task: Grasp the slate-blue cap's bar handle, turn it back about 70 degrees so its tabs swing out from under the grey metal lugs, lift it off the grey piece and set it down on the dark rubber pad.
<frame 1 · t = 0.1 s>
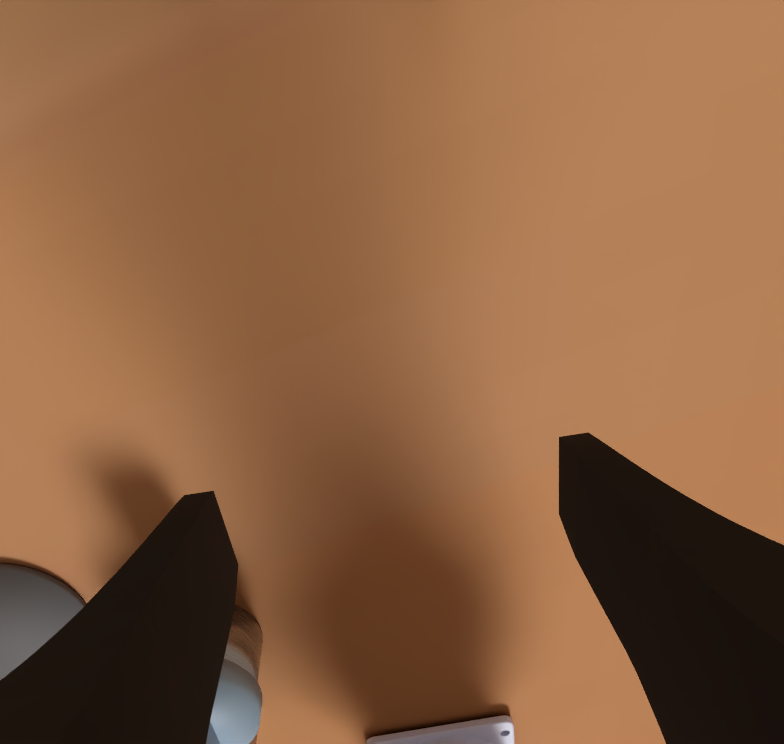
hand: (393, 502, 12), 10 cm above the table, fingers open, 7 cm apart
grey piece: (208, 639, 28), on the table
pad: (10, 622, 26), on the table
cap: (195, 699, 25), point 3 cm above the table, touching grey piece
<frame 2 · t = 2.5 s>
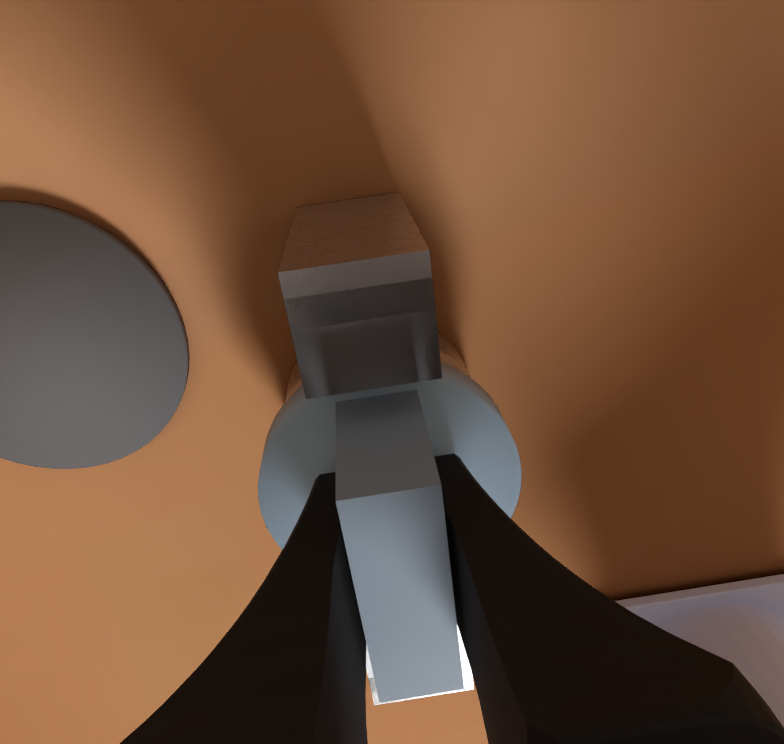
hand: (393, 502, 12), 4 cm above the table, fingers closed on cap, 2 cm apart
grey piece: (379, 400, 16), on the table
pad: (43, 345, 15), on the table
cap: (388, 465, 14), point 3 cm above the table, touching gripper, grey piece
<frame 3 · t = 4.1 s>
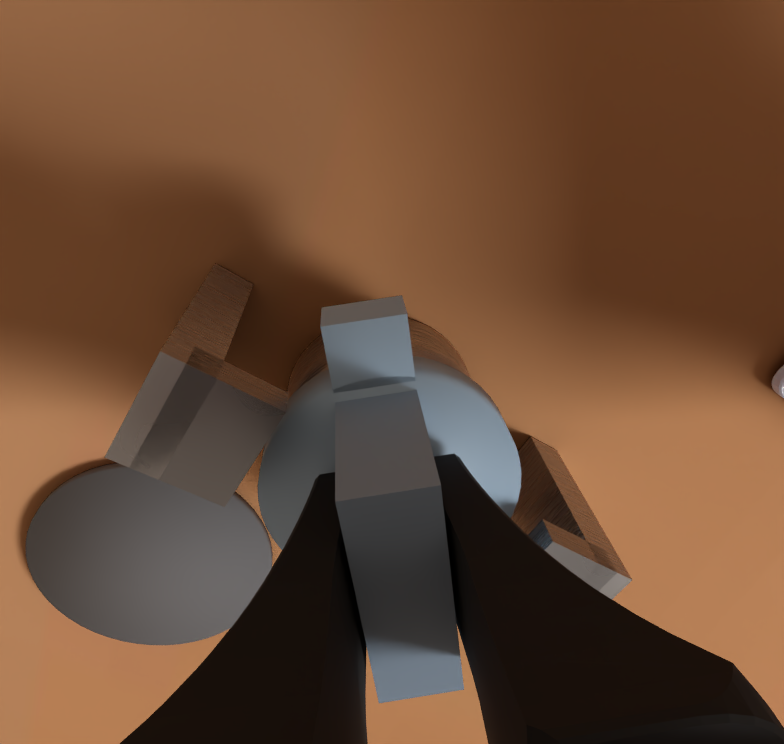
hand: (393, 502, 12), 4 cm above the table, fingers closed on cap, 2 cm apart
grey piece: (379, 400, 16), on the table
pad: (154, 556, 18), on the table
cap: (388, 465, 14), point 3 cm above the table, touching gripper, grey piece
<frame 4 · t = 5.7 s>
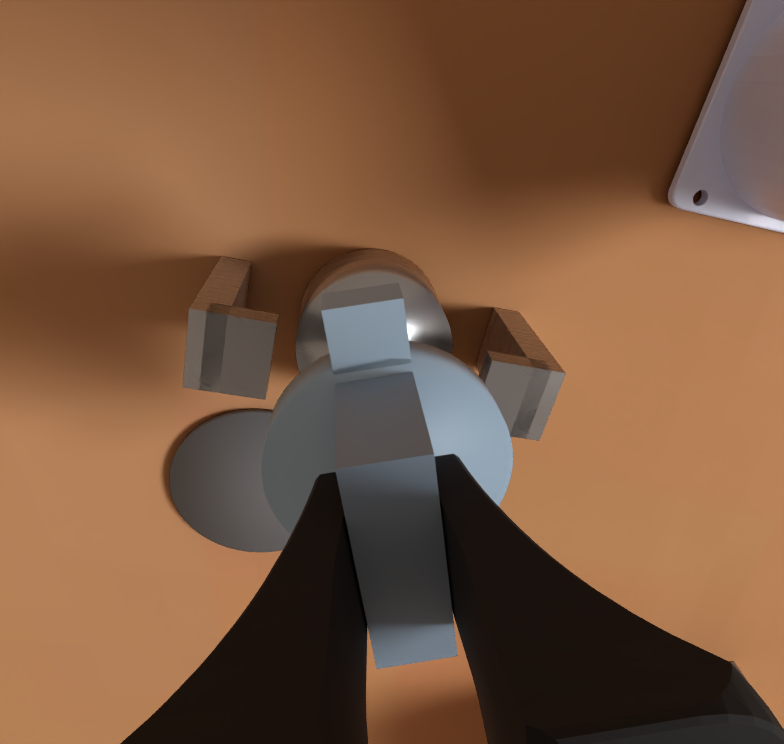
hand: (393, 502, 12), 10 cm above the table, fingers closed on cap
grey piece: (370, 316, 22), on the table
pad: (259, 482, 24), on the table
cap: (385, 447, 14), point 8 cm above the table, touching gripper
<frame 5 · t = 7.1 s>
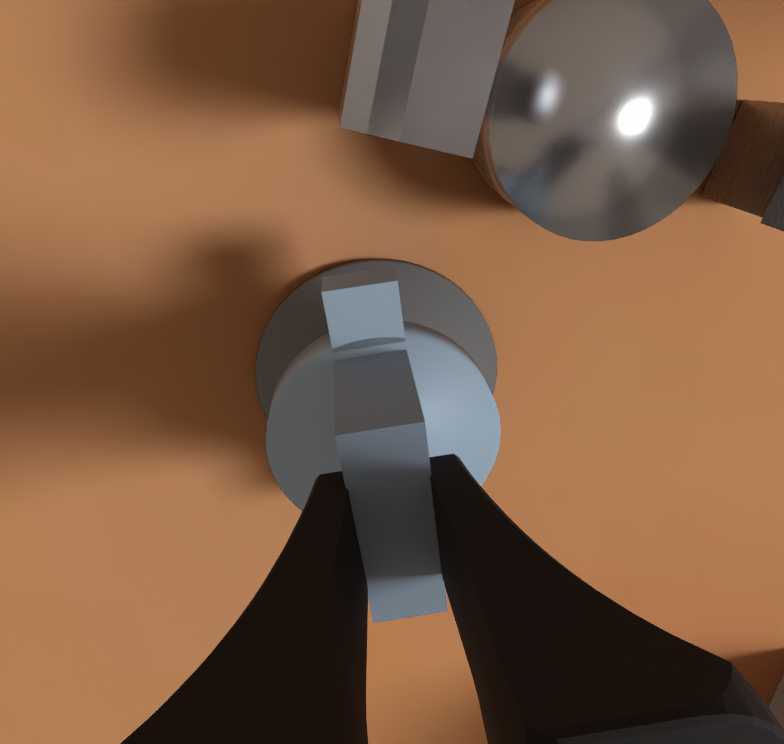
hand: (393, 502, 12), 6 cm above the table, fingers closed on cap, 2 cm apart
grey piece: (564, 109, 15), on the table
pad: (377, 374, 18), on the table
cap: (382, 422, 15), point 3 cm above the table, touching gripper
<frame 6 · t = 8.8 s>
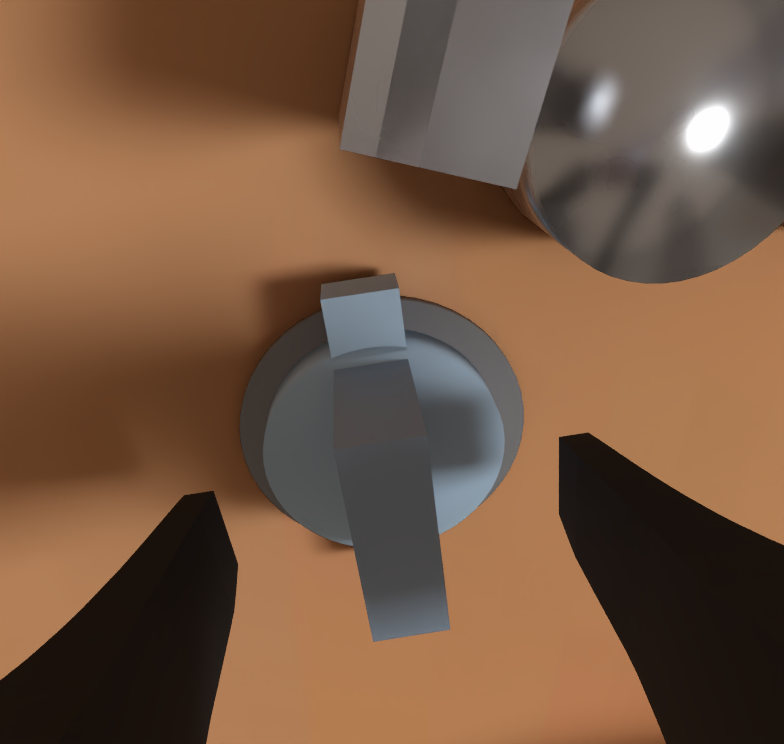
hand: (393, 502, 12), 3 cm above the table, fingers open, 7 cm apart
grey piece: (610, 118, 12), on the table
pad: (383, 427, 15), on the table
cap: (382, 432, 15), resting on pad
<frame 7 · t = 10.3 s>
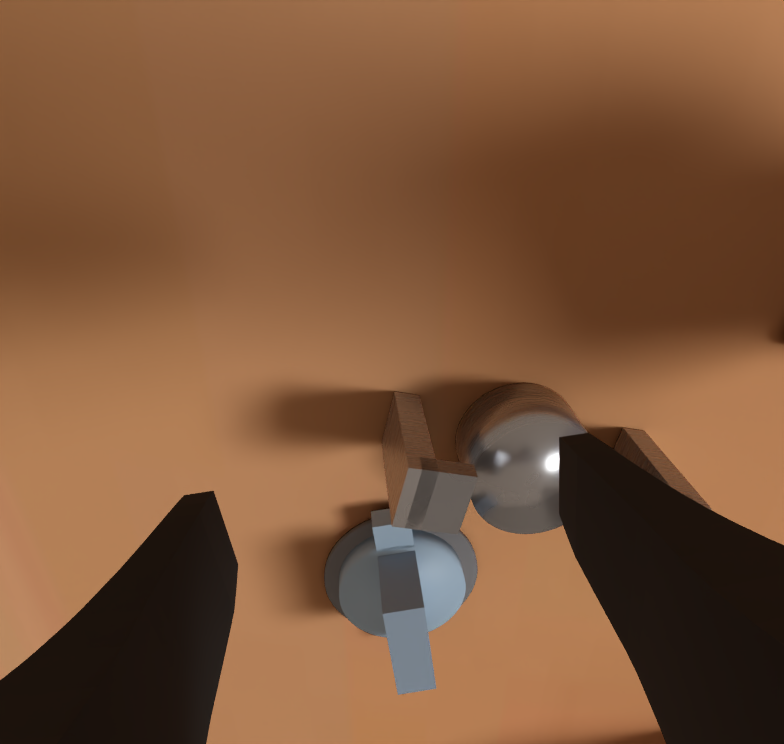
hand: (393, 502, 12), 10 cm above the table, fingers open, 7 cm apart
grey piece: (515, 436, 25), on the table
pad: (401, 572, 27), on the table
cap: (400, 576, 27), resting on pad
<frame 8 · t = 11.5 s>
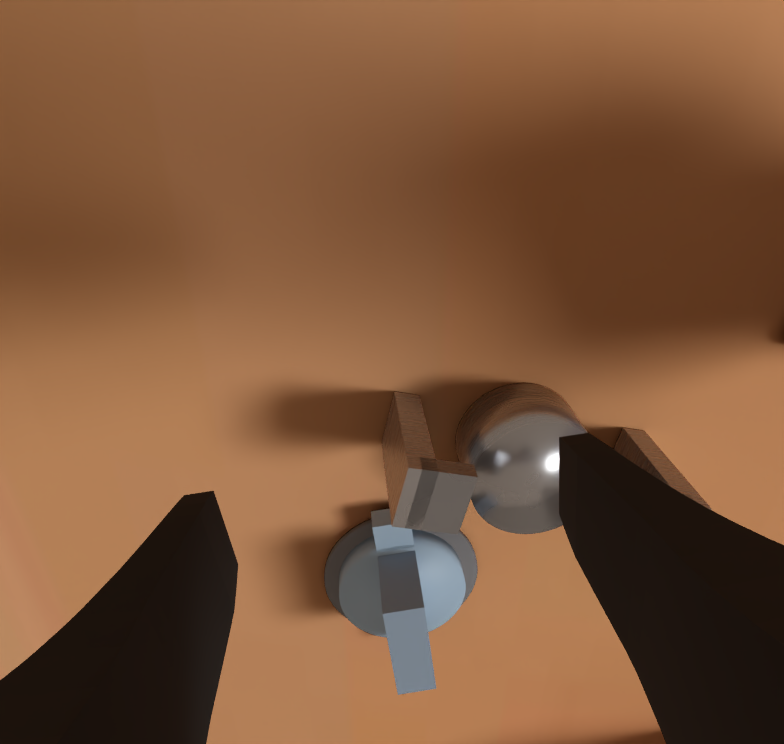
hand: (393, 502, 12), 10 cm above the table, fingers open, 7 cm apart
grey piece: (515, 436, 25), on the table
pad: (401, 572, 27), on the table
cap: (400, 576, 27), resting on pad
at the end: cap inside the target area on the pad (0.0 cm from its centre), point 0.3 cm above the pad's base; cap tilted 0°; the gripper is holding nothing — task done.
